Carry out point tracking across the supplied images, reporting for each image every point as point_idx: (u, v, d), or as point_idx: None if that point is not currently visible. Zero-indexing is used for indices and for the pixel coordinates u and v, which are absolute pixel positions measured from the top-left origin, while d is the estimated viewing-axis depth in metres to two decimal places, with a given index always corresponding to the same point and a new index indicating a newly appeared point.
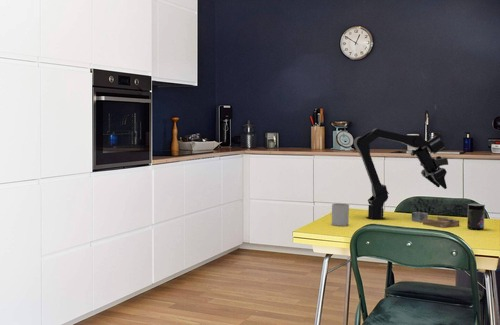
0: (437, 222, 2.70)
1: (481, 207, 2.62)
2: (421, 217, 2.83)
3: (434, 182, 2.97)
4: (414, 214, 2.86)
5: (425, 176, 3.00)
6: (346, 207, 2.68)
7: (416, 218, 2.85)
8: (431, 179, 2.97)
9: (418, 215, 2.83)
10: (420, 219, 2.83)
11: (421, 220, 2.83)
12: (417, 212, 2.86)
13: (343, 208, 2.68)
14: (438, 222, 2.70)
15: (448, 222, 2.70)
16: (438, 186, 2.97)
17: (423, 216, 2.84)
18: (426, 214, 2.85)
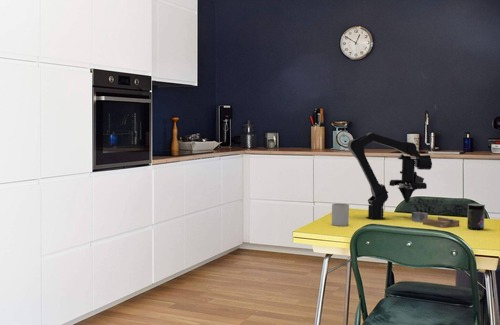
0: (437, 222, 2.70)
1: (481, 207, 2.62)
2: (421, 217, 2.83)
3: None
4: (414, 214, 2.86)
5: (399, 187, 2.94)
6: (346, 207, 2.68)
7: (416, 218, 2.85)
8: (404, 192, 2.92)
9: (418, 215, 2.83)
10: (420, 219, 2.83)
11: (421, 220, 2.83)
12: (417, 212, 2.86)
13: (343, 208, 2.68)
14: (438, 222, 2.70)
15: (448, 222, 2.70)
16: None
17: (423, 216, 2.84)
18: (426, 214, 2.85)
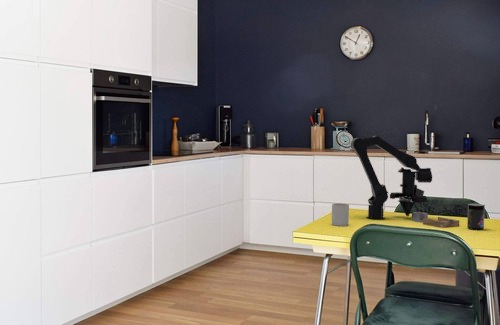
0: (437, 222, 2.70)
1: (481, 207, 2.62)
2: (421, 217, 2.83)
3: None
4: (414, 214, 2.86)
5: (399, 200, 2.94)
6: (346, 207, 2.68)
7: (416, 218, 2.85)
8: (405, 205, 2.92)
9: (418, 215, 2.83)
10: (420, 219, 2.83)
11: (421, 220, 2.83)
12: (417, 212, 2.86)
13: (343, 208, 2.68)
14: (438, 222, 2.70)
15: (448, 222, 2.70)
16: None
17: (423, 216, 2.84)
18: (426, 214, 2.85)
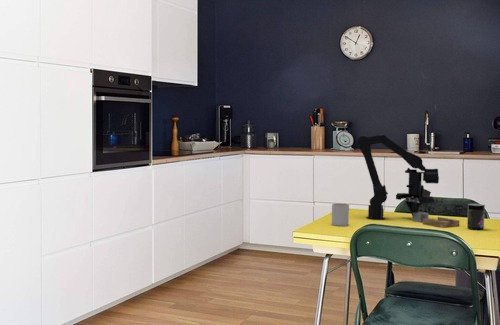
0: (437, 222, 2.70)
1: (481, 207, 2.62)
2: (422, 217, 2.83)
3: None
4: (415, 214, 2.85)
5: (405, 201, 2.90)
6: (346, 207, 2.68)
7: (417, 218, 2.84)
8: None
9: (419, 215, 2.83)
10: (421, 219, 2.83)
11: (422, 220, 2.83)
12: (418, 212, 2.86)
13: (343, 208, 2.68)
14: (438, 222, 2.70)
15: (448, 222, 2.70)
16: None
17: (424, 216, 2.84)
18: (427, 214, 2.85)
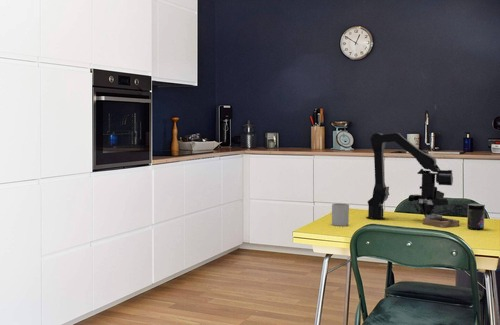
0: (437, 222, 2.70)
1: (481, 207, 2.62)
2: (435, 219, 2.76)
3: None
4: (428, 216, 2.78)
5: (418, 203, 2.83)
6: (346, 207, 2.68)
7: None
8: (424, 208, 2.82)
9: (432, 217, 2.76)
10: None
11: None
12: (431, 214, 2.79)
13: (343, 208, 2.68)
14: (438, 222, 2.70)
15: (448, 222, 2.70)
16: None
17: (437, 218, 2.77)
18: (440, 216, 2.78)
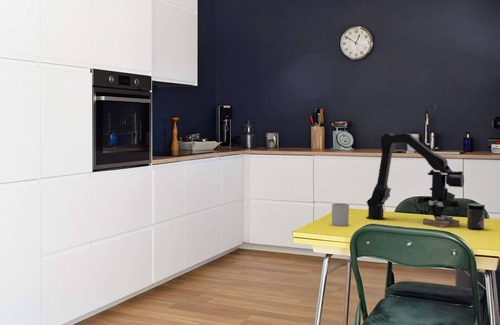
0: (437, 222, 2.70)
1: (481, 207, 2.62)
2: None
3: None
4: (438, 218, 2.73)
5: None
6: (346, 207, 2.68)
7: None
8: (435, 209, 2.77)
9: (443, 219, 2.71)
10: None
11: None
12: (441, 216, 2.73)
13: (343, 208, 2.68)
14: (438, 222, 2.70)
15: (448, 222, 2.70)
16: None
17: None
18: (451, 218, 2.72)
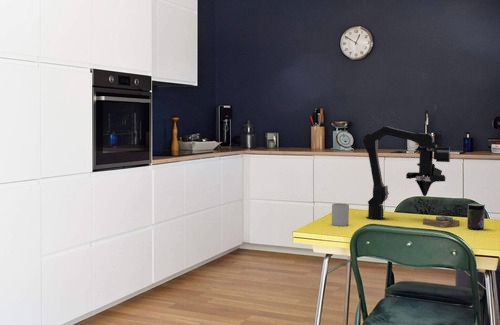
0: (437, 222, 2.70)
1: (481, 207, 2.62)
2: None
3: None
4: (438, 218, 2.73)
5: (416, 180, 2.85)
6: (346, 207, 2.68)
7: None
8: (422, 185, 2.83)
9: (443, 219, 2.71)
10: None
11: None
12: (441, 216, 2.74)
13: (343, 208, 2.68)
14: (438, 222, 2.70)
15: (448, 222, 2.70)
16: None
17: None
18: (451, 218, 2.72)
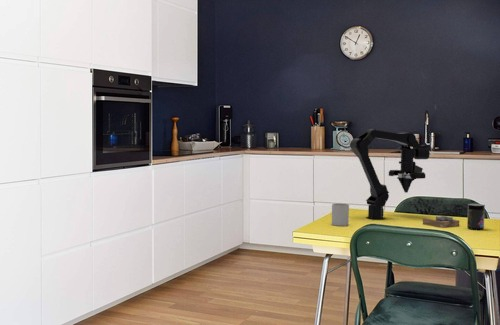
0: (437, 222, 2.70)
1: (481, 207, 2.62)
2: None
3: None
4: (438, 218, 2.73)
5: (398, 177, 2.97)
6: (346, 207, 2.68)
7: None
8: (403, 182, 2.96)
9: (443, 219, 2.71)
10: None
11: None
12: (441, 216, 2.74)
13: (343, 208, 2.68)
14: (438, 222, 2.70)
15: (448, 222, 2.70)
16: None
17: None
18: (451, 218, 2.72)
